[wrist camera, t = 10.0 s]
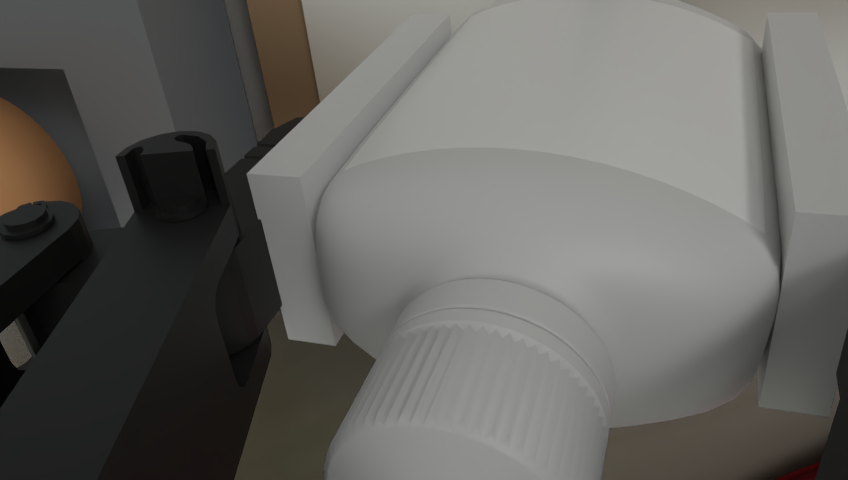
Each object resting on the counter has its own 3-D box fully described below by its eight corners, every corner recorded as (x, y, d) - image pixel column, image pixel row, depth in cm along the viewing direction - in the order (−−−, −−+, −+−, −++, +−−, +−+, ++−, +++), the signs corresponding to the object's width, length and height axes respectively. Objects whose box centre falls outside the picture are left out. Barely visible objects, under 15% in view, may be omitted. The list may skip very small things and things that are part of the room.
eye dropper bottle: (544, -113, 13) (123, 285, 4) (804, 64, 14) (975, 823, 4) (432, 79, 16) (23, 583, 7) (650, 223, 16) (549, 905, 7)
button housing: (-120, -67, 20) (-230, -39, 18) (203, -84, 17) (121, -53, 15) (23, 246, 26) (-48, 300, 23) (289, 277, 23) (238, 342, 20)
